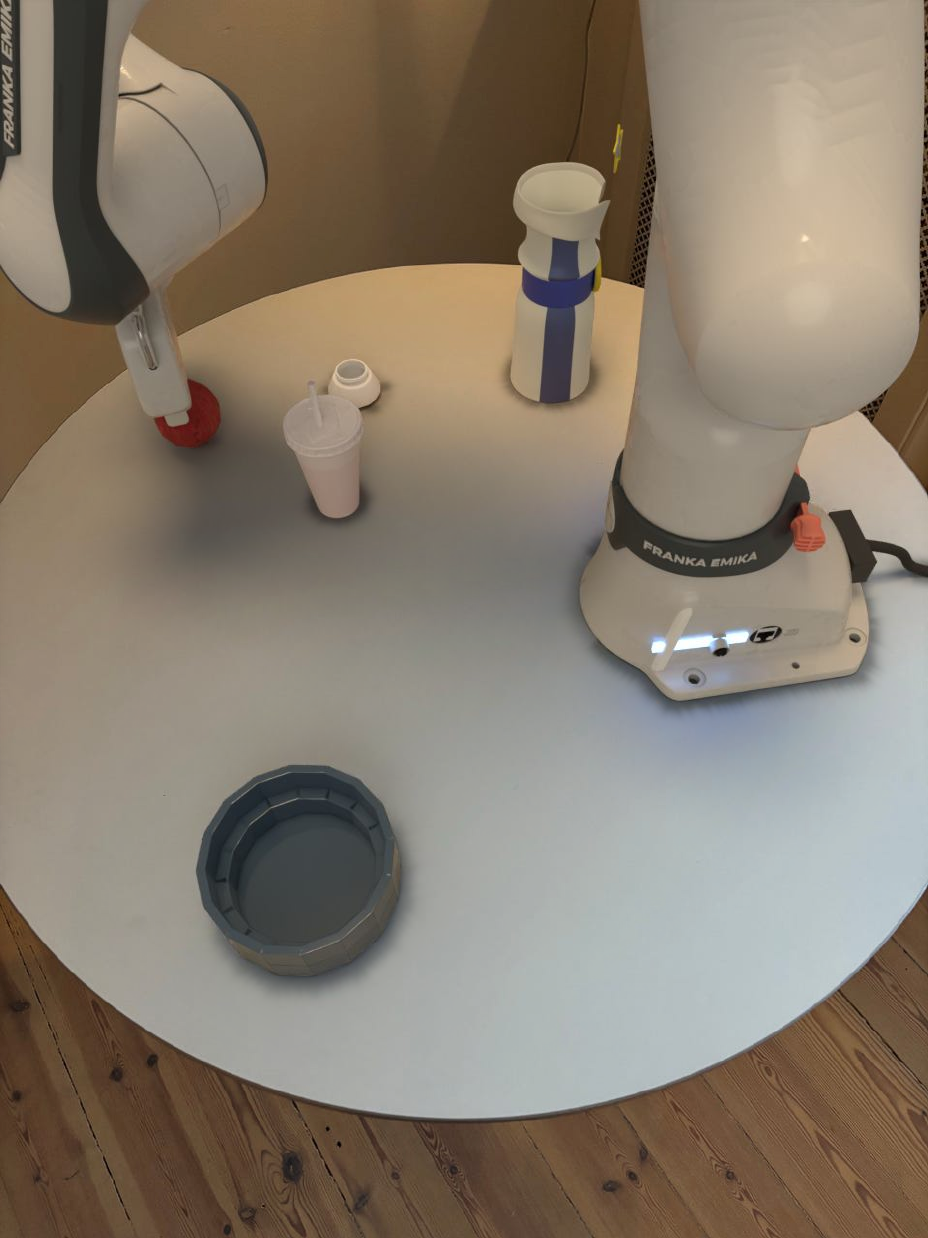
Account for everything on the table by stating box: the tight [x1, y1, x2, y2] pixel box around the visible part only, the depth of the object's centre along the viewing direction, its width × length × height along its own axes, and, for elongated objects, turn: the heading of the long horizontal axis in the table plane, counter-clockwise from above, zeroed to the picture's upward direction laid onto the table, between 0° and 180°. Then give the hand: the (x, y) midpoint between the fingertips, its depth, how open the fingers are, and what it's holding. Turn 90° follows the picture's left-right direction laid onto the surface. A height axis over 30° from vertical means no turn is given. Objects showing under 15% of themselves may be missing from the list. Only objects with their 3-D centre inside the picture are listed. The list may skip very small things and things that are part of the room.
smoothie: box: [282, 380, 365, 519], centre depth 75 cm, size 6×6×14 cm
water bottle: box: [510, 123, 624, 404], centre depth 79 cm, size 8×9×25 cm
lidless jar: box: [327, 358, 381, 409], centre depth 87 cm, size 5×3×5 cm
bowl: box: [195, 764, 402, 977], centre depth 59 cm, size 12×12×6 cm
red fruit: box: [153, 378, 222, 449], centre depth 82 cm, size 6×6×8 cm
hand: (170, 383), depth 79 cm, fingers open, 8 cm apart
